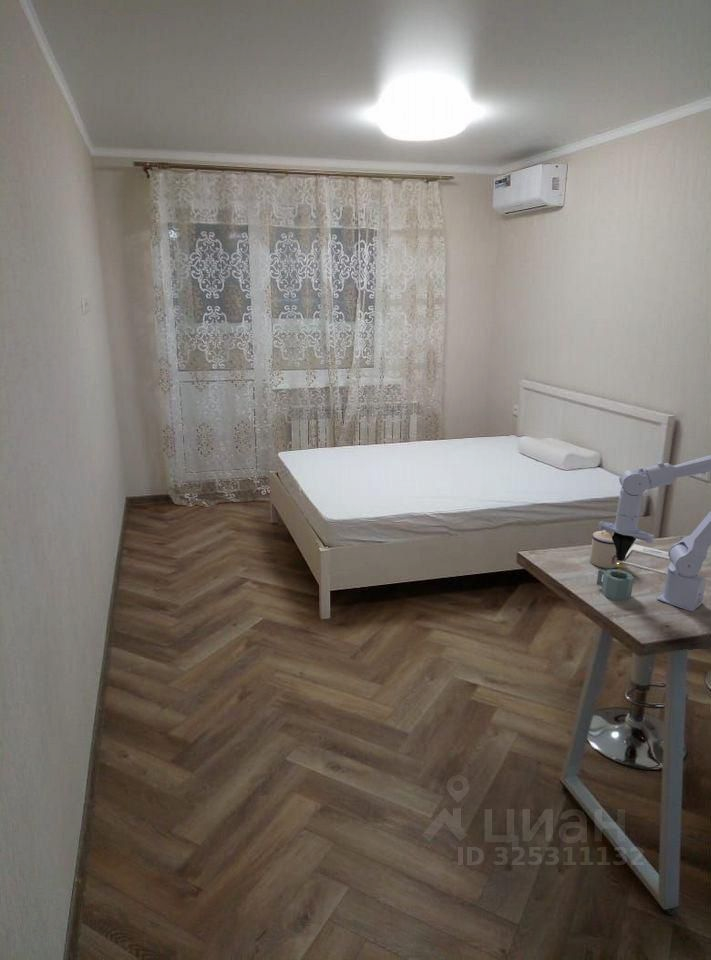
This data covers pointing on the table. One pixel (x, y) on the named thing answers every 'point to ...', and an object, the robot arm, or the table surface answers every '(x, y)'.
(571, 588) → the table surface
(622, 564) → the plunger
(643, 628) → the table surface
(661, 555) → the photo frame
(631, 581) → the tea press body
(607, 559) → the teacup with lid
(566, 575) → the table surface
